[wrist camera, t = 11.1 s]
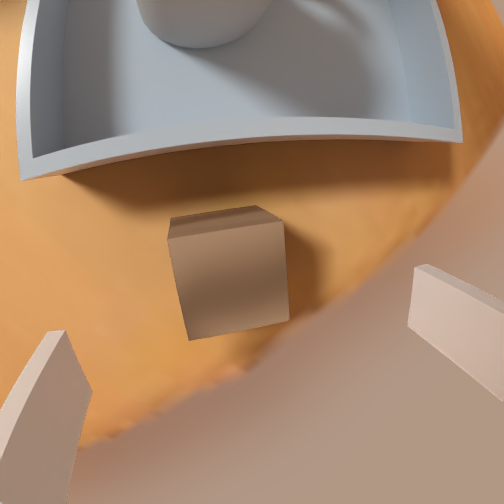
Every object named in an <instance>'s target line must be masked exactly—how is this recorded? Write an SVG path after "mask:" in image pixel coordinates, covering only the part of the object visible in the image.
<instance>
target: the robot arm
mask: <svg viewBox="0 0 504 504" xmlns="http://www.w3.org/2000/svg"><path fill="white" fill-rule="evenodd" d="M407 326H408V327H409V328H411V329H412V330H413V331H414V332H416V333H417V334H418V335H420V336H421V337H422V338H424V339H425V340H426V341H427V342H429V343H430V344H431V345H432V346H434V347H435V348H436V349H438V350H439V351H440V352H441V353H443V354H444V355H445V356H446V357H448V358H449V359H450V360H452V361H453V362H454V363H455V364H457V365H458V366H459V367H460V368H462V369H463V370H464V371H465V372H467V373H468V374H469V375H470V376H471V377H473V378H474V379H475V380H476V381H478V382H479V383H480V384H481V385H482V386H484V387H485V388H486V389H487V390H489V391H490V392H491V393H492V394H493V395H495V396H496V397H497V398H498V399H499V400H501V401H502V402H503V403H504V302H503V301H501V300H499V299H498V298H495V297H494V296H491V295H490V294H488V293H486V292H484V291H482V290H480V289H478V288H476V287H474V286H472V285H470V284H468V283H466V282H464V281H462V280H460V279H458V278H456V277H454V276H452V275H450V274H448V273H446V272H444V271H442V270H440V269H438V268H436V267H433V266H431V265H429V264H424V265H420V266H416V267H414V279H413V287H412V296H411V303H410V310H409V317H408V324H407ZM91 395H92V389H91V387H90V385H89V383H88V381H87V379H86V377H85V375H84V373H83V371H82V369H81V366H80V364H79V362H78V360H77V357H76V355H75V353H74V350H73V348H72V346H71V343H70V341H69V338H68V336H67V333H66V330H60V331H49V332H47V334H46V335H45V337H44V338H43V340H42V341H41V343H40V344H39V346H38V347H37V349H36V350H35V352H34V353H33V355H32V357H31V358H30V360H29V361H28V363H27V364H26V366H25V368H24V369H23V371H22V373H21V374H20V376H19V378H18V379H17V381H16V383H15V384H14V386H13V388H12V390H11V391H10V393H9V395H8V397H7V399H6V400H5V402H4V404H3V406H2V408H1V410H0V504H67V498H68V492H69V486H70V481H71V476H72V470H73V466H74V461H75V457H76V452H77V448H78V443H79V439H80V435H81V431H82V427H83V423H84V420H85V416H86V412H87V409H88V405H89V402H90V398H91Z"/></svg>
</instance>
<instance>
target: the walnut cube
mask: <svg viewBox="0 0 504 504" xmlns="http://www.w3.org/2000/svg"><path fill="white" fill-rule="evenodd" d="M167 241H168V246H169V252H170V257H171V262H172V267H173V272H174V277H175V282H176V287H177V291H178V296H179V301H180V305H181V310H182V314H183V318H184V323H185V327H186V331H187V335H188V339H189V341H190V340H196V339H202V338H207V337H213V336H218V335H223V334H229V333H234V332H239V331H244V330H249V329H254V328H258V327H263V326H268V325H272V324H277V323H281V322H285V321H290V319H289V300H288V283H287V267H286V252H285V237H284V224H283V221H282V220H281V219H279V218H277V217H275V216H274V215H272V214H270V213H269V212H267V211H265V210H263V209H262V208H260V207H258V206H256V205H255V206H248V207H241V208H233V209H227V210H220V211H213V212H207V213H200V214H194V215H188V216H181V217H175V218H171V221H170V227H169V232H168V238H167Z"/></svg>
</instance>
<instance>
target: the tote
mask: <svg viewBox="0 0 504 504" xmlns="http://www.w3.org/2000/svg"><path fill="white" fill-rule="evenodd" d="M16 131H17V148H18V160H19V170H20V178H21V181H25V180H31V179H37V178H43V177H50V176H57V175H63V174H67V173H71V172H75V171H79V170H83V169H87V168H91V167H96V166H100V165H105V164H109V163H114V162H119V161H124V160H129V159H135V158H140V157H146V156H151V155H157V154H164V153H170V152H177V151H184V150H191V149H199V148H207V147H215V146H225V145H235V144H246V143H259V142H274V141H293V140H330V139H353V140H389V141H407V142H450V143H463V136H462V123H461V113H460V105H459V97H458V90H457V83H456V77H455V72H454V66H453V61H452V57H451V52H450V48H449V43H448V39H447V35H446V31H445V28H444V24H443V21H442V17H441V14H440V11H439V7H438V4H437V1H436V0H272V1H271V2H270V4H269V5H268V7H267V8H266V10H265V11H264V13H263V15H262V16H261V18H260V19H259V21H258V22H257V24H256V25H255V26H254V27H253V28H252V29H251V30H249V31H248V32H247V33H246V34H245V35H244V36H242V37H240V38H238V39H236V40H234V41H232V42H230V43H227V44H223V45H220V46H216V47H209V48H189V47H181V46H177V45H174V44H171V43H168V42H165V41H163V40H162V39H160V38H159V37H157V36H156V35H154V34H153V33H152V32H151V31H150V30H149V29H148V28H147V26H146V25H145V24H144V22H143V20H142V18H141V15H140V12H139V9H138V6H137V2H136V0H28V1H27V6H26V10H25V16H24V21H23V27H22V33H21V40H20V48H19V57H18V69H17V86H16Z"/></svg>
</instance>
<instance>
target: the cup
mask: <svg viewBox="0 0 504 504" xmlns="http://www.w3.org/2000/svg"><path fill="white" fill-rule="evenodd" d="M271 1H272V0H136V2H137V6H138V9H139V12H140V15H141V18H142V20H143V22H144V24H145V25H146V26H147V28H148V29H149V30H150V31H151V32H152V33H153V34H154V35H156V36H157V37H159V38H160V39H162V40H163V41H165V42H168V43H171V44H174V45H177V46H181V47H189V48H209V47H216V46H220V45H223V44H227V43H230V42H232V41H234V40H236V39H238V38H240V37H242V36H244V35H245V34H246V33H247V32H248V31H249V30H251V29H252V28H253V27H254V26H255V25H256V24H257V22H258V21H259V19H260V18H261V16H262V15H263V13H264V11H265V10H266V8H267V7H268V5H269V4H270V2H271Z"/></svg>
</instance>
